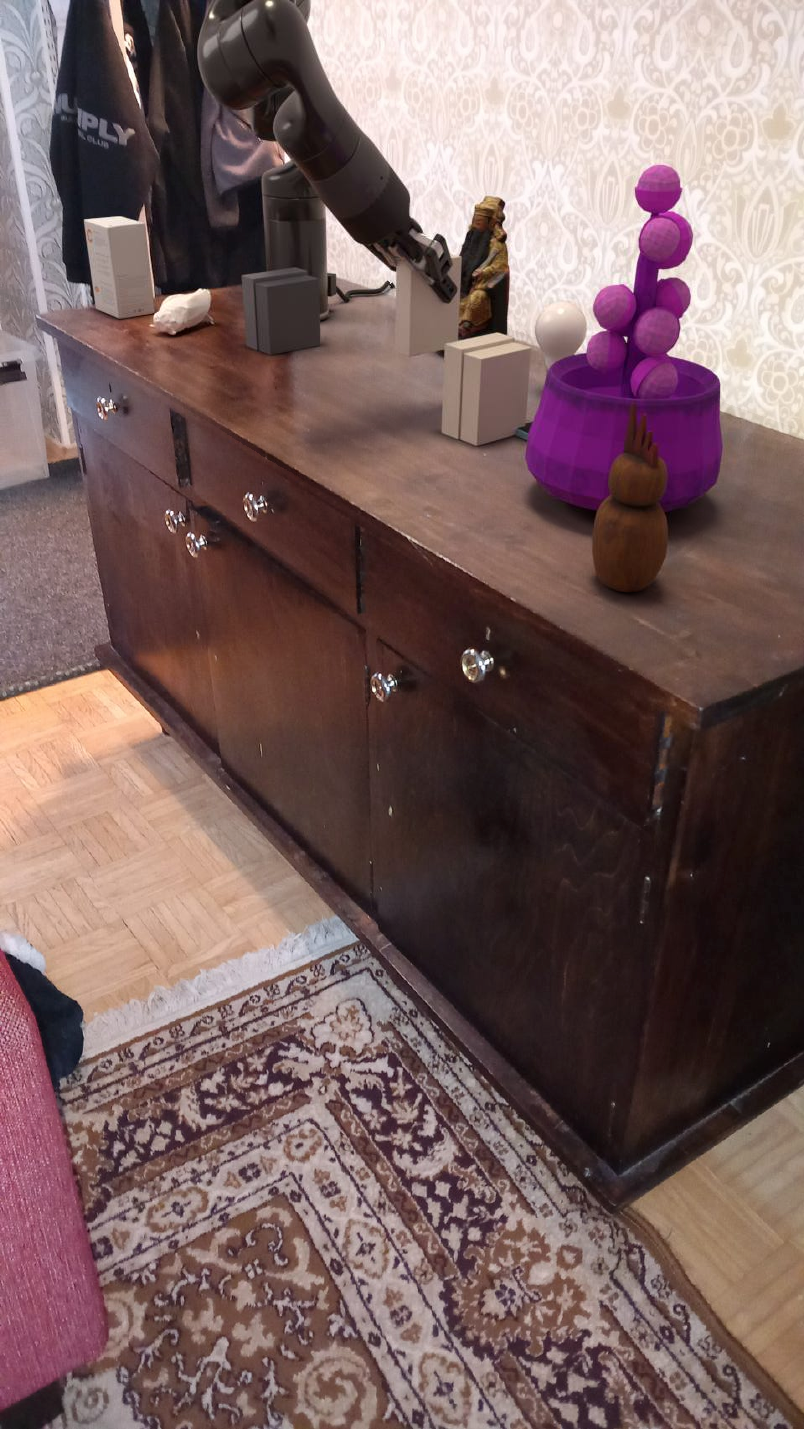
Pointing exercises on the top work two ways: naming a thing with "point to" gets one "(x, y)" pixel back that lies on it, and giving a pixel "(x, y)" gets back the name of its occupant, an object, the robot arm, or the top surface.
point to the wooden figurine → (632, 514)
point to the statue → (484, 273)
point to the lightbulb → (560, 331)
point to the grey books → (281, 310)
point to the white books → (485, 388)
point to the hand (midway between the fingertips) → (441, 293)
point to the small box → (119, 266)
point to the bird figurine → (183, 311)
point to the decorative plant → (633, 377)
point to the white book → (424, 312)
